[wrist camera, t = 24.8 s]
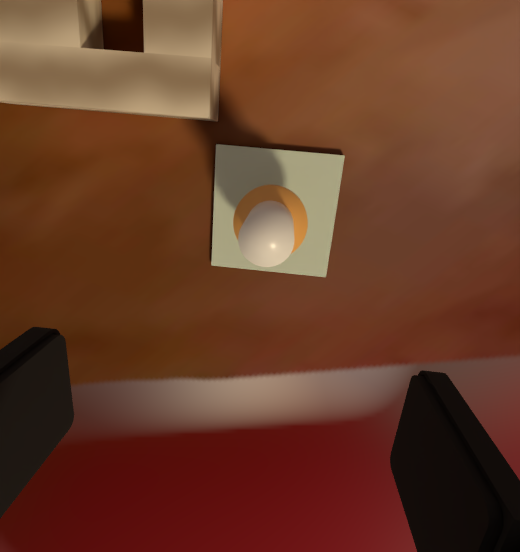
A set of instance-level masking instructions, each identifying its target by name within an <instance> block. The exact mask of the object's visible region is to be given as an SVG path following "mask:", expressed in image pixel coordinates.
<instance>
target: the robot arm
mask: <svg viewBox="0 0 520 552" xmlns="http://www.w3.org/2000/svg"><path fill="white" fill-rule="evenodd" d="M73 418H74V411H73V402H72V394H71V385H70V377H69V368H68V359H67V351H66V342H65V338H64V336H62V335H60V333H59V331H58V330H56V329H50V328H41V327H33V328H31V329H29V330H28V331H26V332H25V333H23V334H22V335H21V336H19V337H18V338H16V339H15V340H13V341H12V342H11V343H9V344H8V345H6V346H5V347H4V348H2V349H1V350H0V518H1V517H2V515H3V514H4V512H5V511H6V510H7V509H8V508H9V506H10V505H11V504H12V502H13V501H14V500H15V498H16V497H17V496H18V495H19V493H20V492H21V491H22V489H23V488H24V487H25V486H26V484H27V483H28V482H29V480H30V479H31V478H32V477H33V475H34V474H35V473H36V472H37V470H38V469H39V468H40V466H41V465H42V464H43V462H44V461H45V460H46V458H47V457H48V456H49V455H50V454H51V452H52V451H53V450H54V448H55V447H56V445H57V444H58V443H59V442H60V441H61V439H62V438H63V437H64V435H65V434H66V433H67V432H68V430H69V429H70V427H71V425H72V422H73ZM390 463H391V469H392V473H393V475H394V479H395V482H396V485H397V489H398V492H399V495H400V498H401V501H402V504H403V508H404V511H405V514H406V517H407V520H408V524H409V527H410V530H411V533H412V536H413V539H414V542H415V546H416V549H417V552H520V480H519V479H518V477H517V476H516V474H515V473H514V472H513V470H512V469H511V467H510V466H509V464H508V463H507V461H506V460H505V458H504V457H503V455H502V454H501V453H500V451H499V450H498V448H497V447H496V445H495V444H494V442H493V441H492V440H491V438H490V437H489V435H488V434H487V432H486V431H485V429H484V428H483V427H482V425H481V424H480V422H479V421H478V419H477V418H476V416H475V415H474V413H473V412H472V410H471V409H470V408H469V406H468V405H467V403H466V402H465V400H464V399H463V397H462V396H461V394H460V393H459V392H458V390H457V389H456V387H455V386H454V385H453V383H452V381H451V380H450V379H449V377H448V376H447V375H446V374H445V373H440V372H431V371H420V373H419V374H418V376H416V375H414V376H412V378H411V381H410V384H409V388H408V391H407V395H406V399H405V403H404V406H403V410H402V414H401V418H400V421H399V425H398V429H397V432H396V436H395V440H394V444H393V447H392V451H391V457H390Z"/></svg>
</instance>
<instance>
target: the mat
mask: <svg viewBox="0 0 520 552" xmlns="http://www.w3.org/2000/svg"><path fill="white" fill-rule="evenodd" d="M344 157H345V156H344V155H334V154H322V153H311V152H300V151H288V150H277V149H266V148H254V147H243V146H232V145H221V144H216V159H215V185H214V211H213V237H212V263H211V265H213V266H222V267H232V268H242V269H251V270H261V271H271V272H281V273H290V274H300V275H310V276H319V277H326V273H327V267H328V260H329V254H330V247H331V241H332V234H333V228H334V221H335V215H336V208H337V202H338V195H339V189H340V183H341V176H342V170H343V163H344ZM269 184H272V185H280V186H283V187H285V188H288V189H289V190H291V191H293V192H294V193H295V194H296V195H297V196H298V197H299V198H300V200H301V201H302V203H303V205H304V207H305V210H306V213H307V219H308V228H307V233H306V236H305V238H304V240H303V242H302V243H301V245H300V246H299V247H298V248H297V249H296V250H295V251H294V252H293V253H291V254H290V255H289V257H288V258H287V259H286V260H285V261H284V262H282V263H281V264H279V265H276V266H273V267H261V266H257V265H255V264H253V263H251V262H250V261H248V260H247V259H246V258H245V257H244V255H243V254H242V252H241V250H240V248H239V243H238V240H237V238H236V235H235V232H234V227H233V218H234V213H235V210H236V207H237V205H238V204H239V202H240V201H241V199H242V198H243V197H244V196H245V195H246V194H247V193H248V192H250V191H251V190H253V189H254V188H256V187H259V186H262V185H269Z"/></svg>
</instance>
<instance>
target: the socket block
mask: <svg viewBox="0 0 520 552" xmlns="http://www.w3.org/2000/svg"><path fill="white" fill-rule="evenodd" d="M222 11H223V0H143V28H144V53H142V52H129V51H116V50H104V44H103V26H102V9H101V0H0V102H3V103H10V104H20V105H31V106H43V107H55V108H67V109H78V110H90V111H102V112H113V113H125V114H137V115H148V116H160V117H172V118H183V119H195V120H207V121H218V113H219V88H220V62H221V37H222Z"/></svg>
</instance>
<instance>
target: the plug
mask: <svg viewBox="0 0 520 552" xmlns="http://www.w3.org/2000/svg"><path fill="white" fill-rule="evenodd" d="M233 227H234V232H235V235H236V238H237V240H238V243H239V248H240V250H241V252H242V254H243V255H244V257H245V258H246V259H247V260H248V261H250V262H251V263H253V264H255V265H257V266H261V267H273V266H276V265H279V264H281V263H282V262H284V261H285V260H286V259H287V258H288V257H289V255H290V254H291V253H293V252H294V251H295V250H296V249H297V248H298V247H299V246H300V245H301V243H302V242H303V240H304V238H305V236H306V233H307V228H308V219H307V213H306V210H305V207H304V205H303V203H302V201H301V200H300V198H299V197H298V196H297V195H296V194H295V193H294V192H293V191H291V190H289V189H288V188H285V187H283V186H280V185H272V184H269V185H262V186H259V187H256V188H254V189H253V190H251V191H250V192H248V193H247V194H246V195H245V196H244V197H243V198H242V199H241V201H240V202H239V204H238V205H237V207H236V210H235V213H234V218H233Z"/></svg>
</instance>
